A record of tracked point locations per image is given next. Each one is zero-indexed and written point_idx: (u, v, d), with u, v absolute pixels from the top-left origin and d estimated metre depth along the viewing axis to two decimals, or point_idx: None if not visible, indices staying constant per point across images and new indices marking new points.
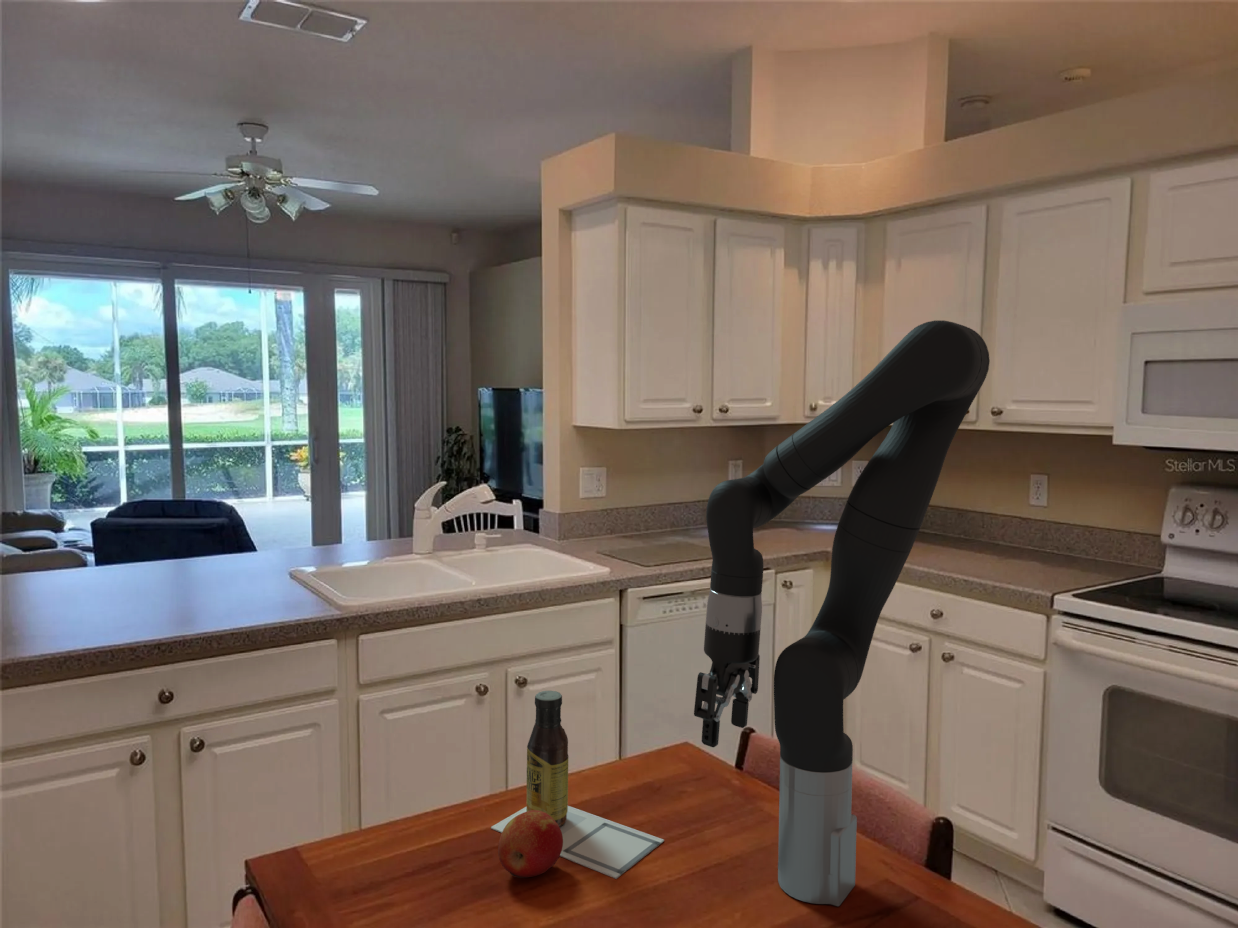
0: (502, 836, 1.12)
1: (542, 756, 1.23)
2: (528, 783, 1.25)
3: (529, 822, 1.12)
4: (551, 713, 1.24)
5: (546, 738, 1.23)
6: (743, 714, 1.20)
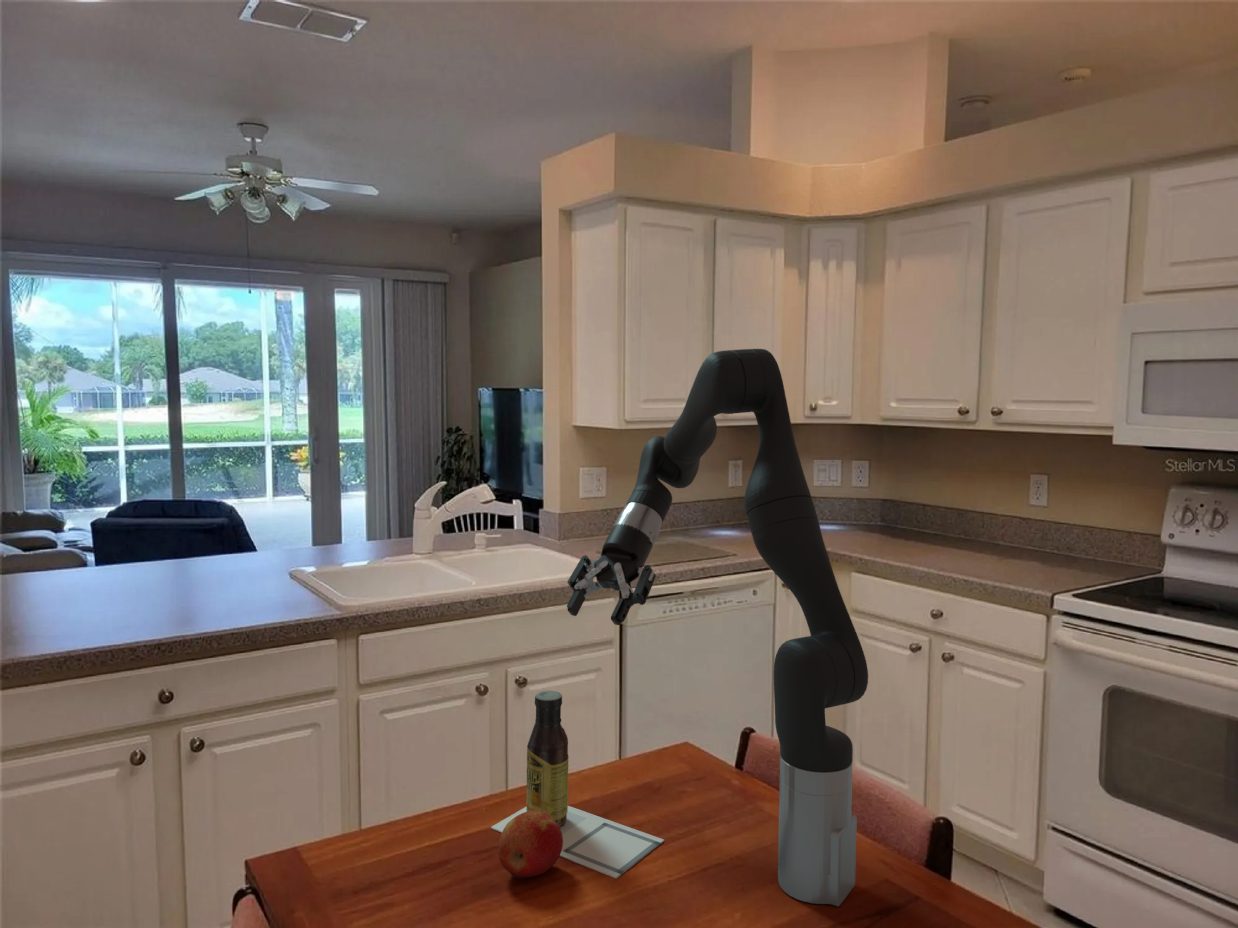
0: (502, 836, 1.12)
1: (542, 756, 1.23)
2: (528, 783, 1.25)
3: (529, 822, 1.12)
4: (551, 713, 1.24)
5: (546, 738, 1.23)
6: None
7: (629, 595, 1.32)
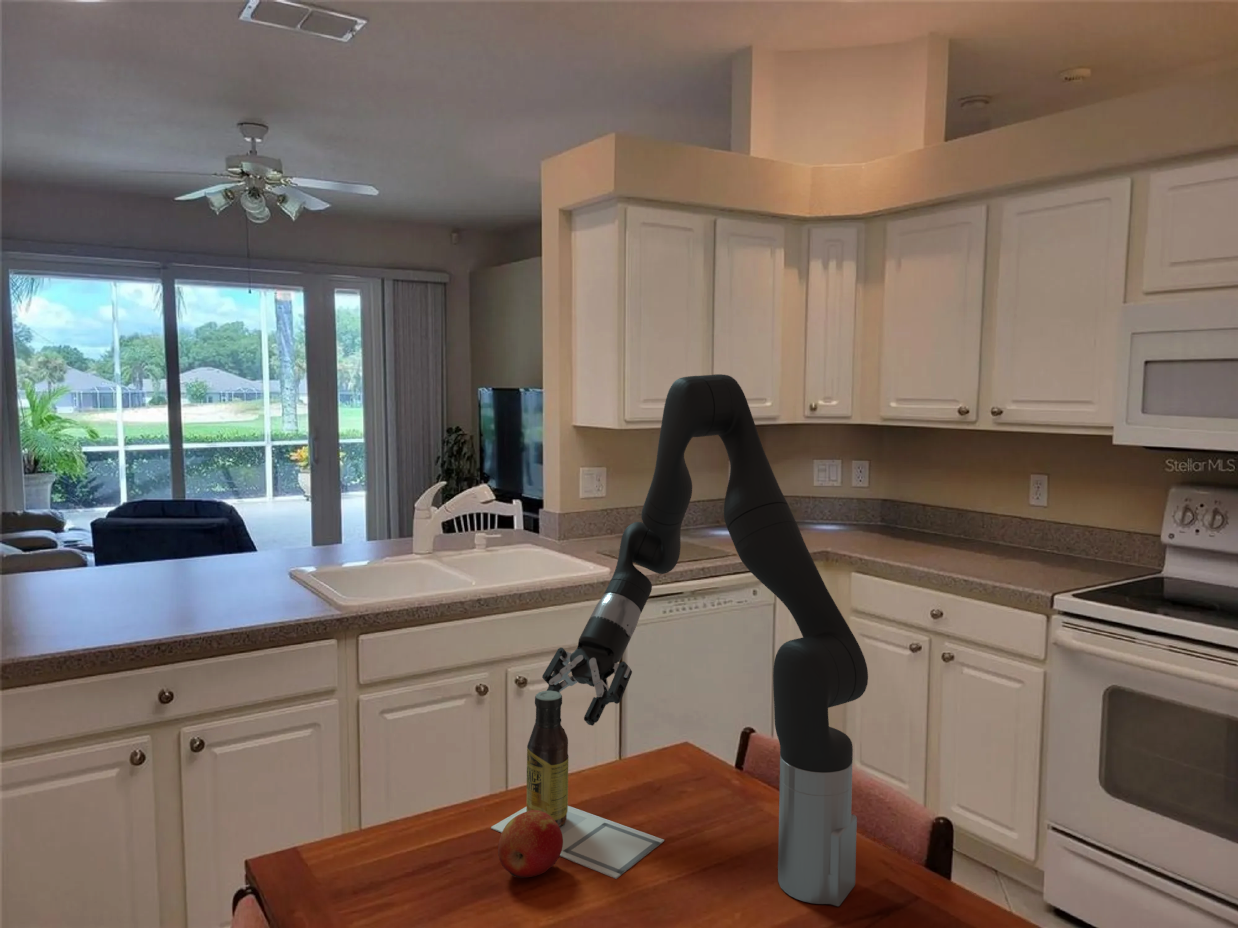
0: (502, 836, 1.12)
1: (542, 756, 1.23)
2: (528, 783, 1.25)
3: (529, 822, 1.12)
4: (551, 713, 1.24)
5: (546, 738, 1.23)
6: None
7: (603, 694, 1.28)
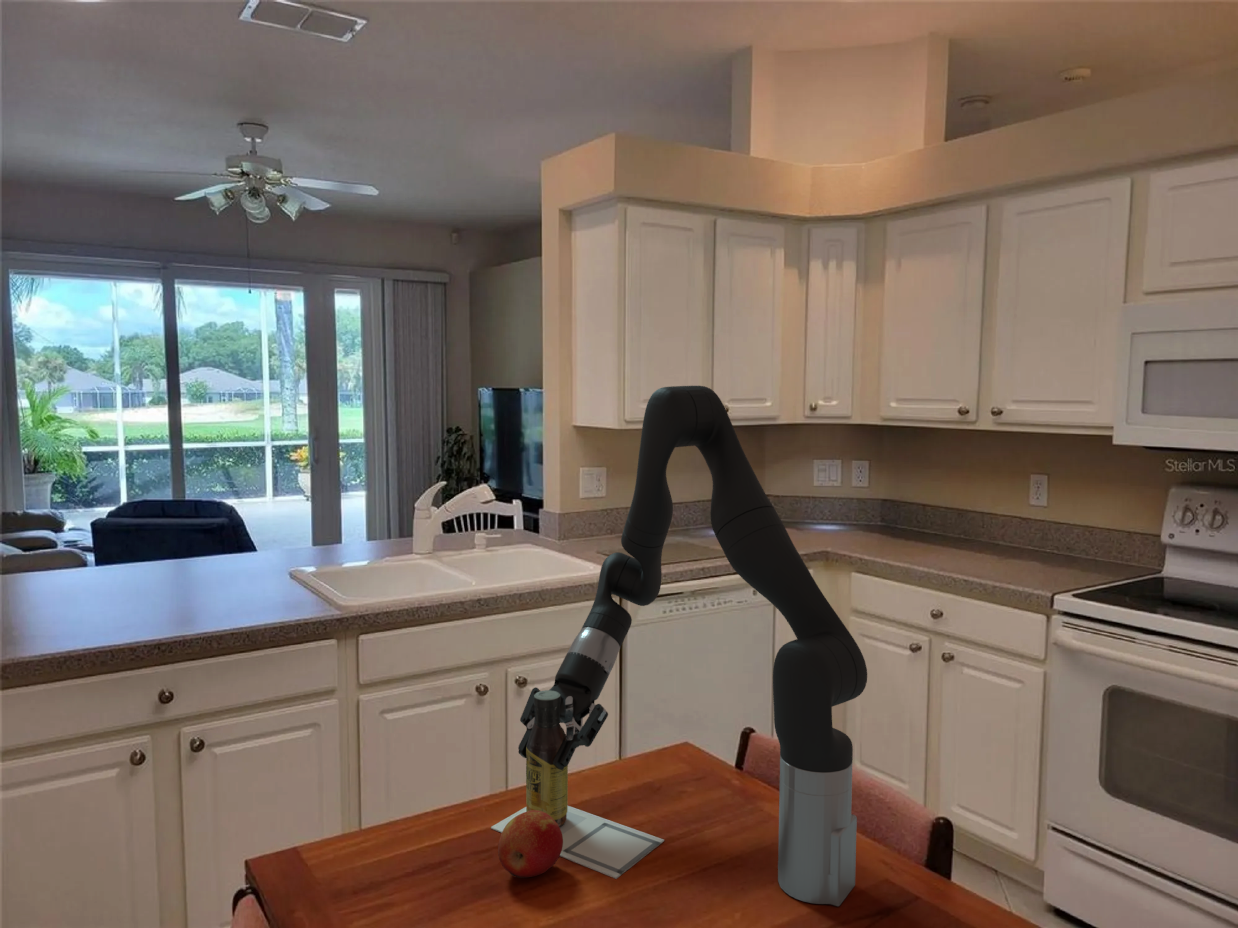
0: (502, 836, 1.12)
1: (541, 756, 1.23)
2: (528, 783, 1.25)
3: (529, 822, 1.12)
4: (550, 713, 1.24)
5: (545, 738, 1.23)
6: None
7: (573, 737, 1.24)
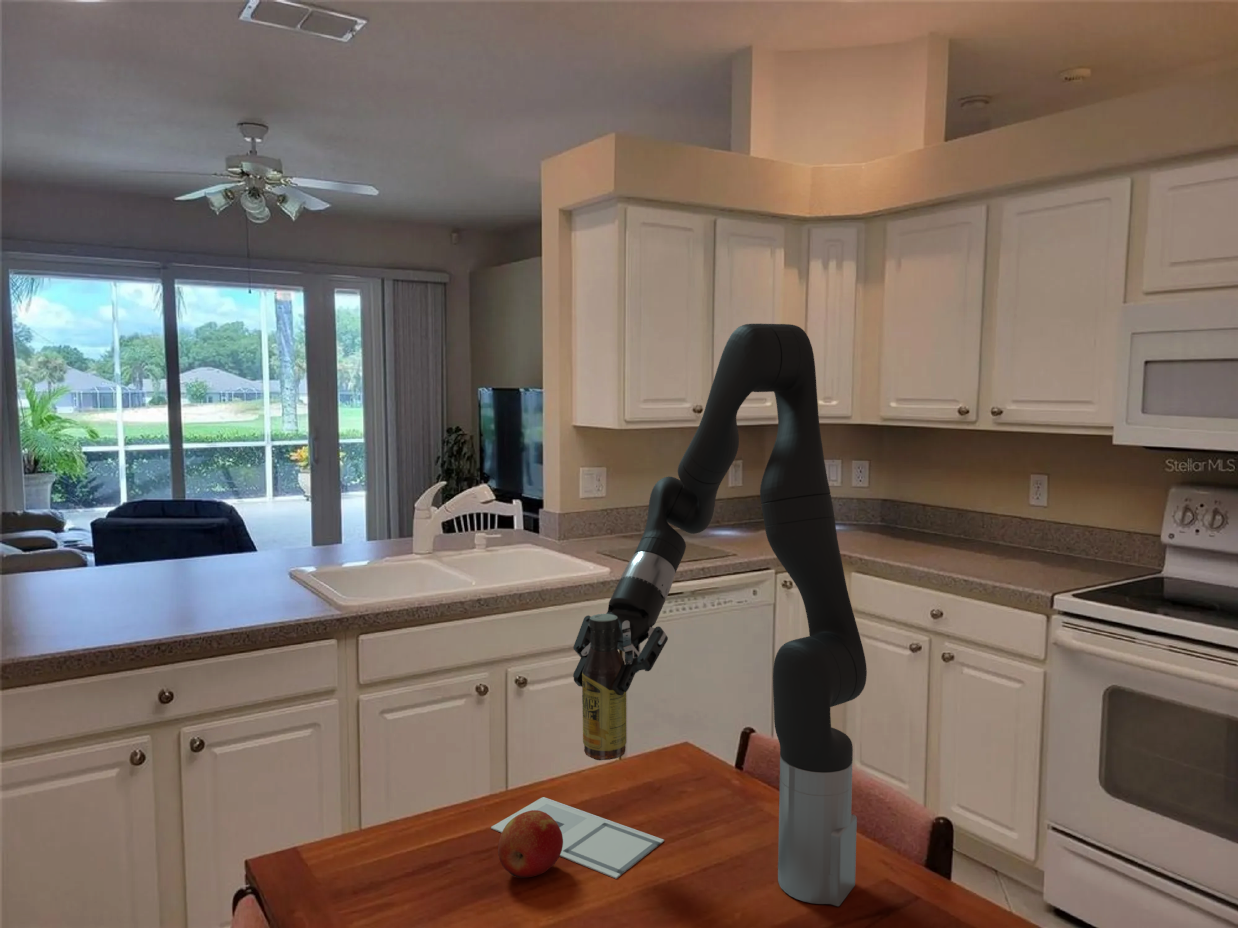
0: (502, 836, 1.12)
1: (600, 681, 1.16)
2: (585, 711, 1.18)
3: (529, 822, 1.12)
4: (608, 635, 1.17)
5: (603, 662, 1.16)
6: None
7: (633, 661, 1.17)
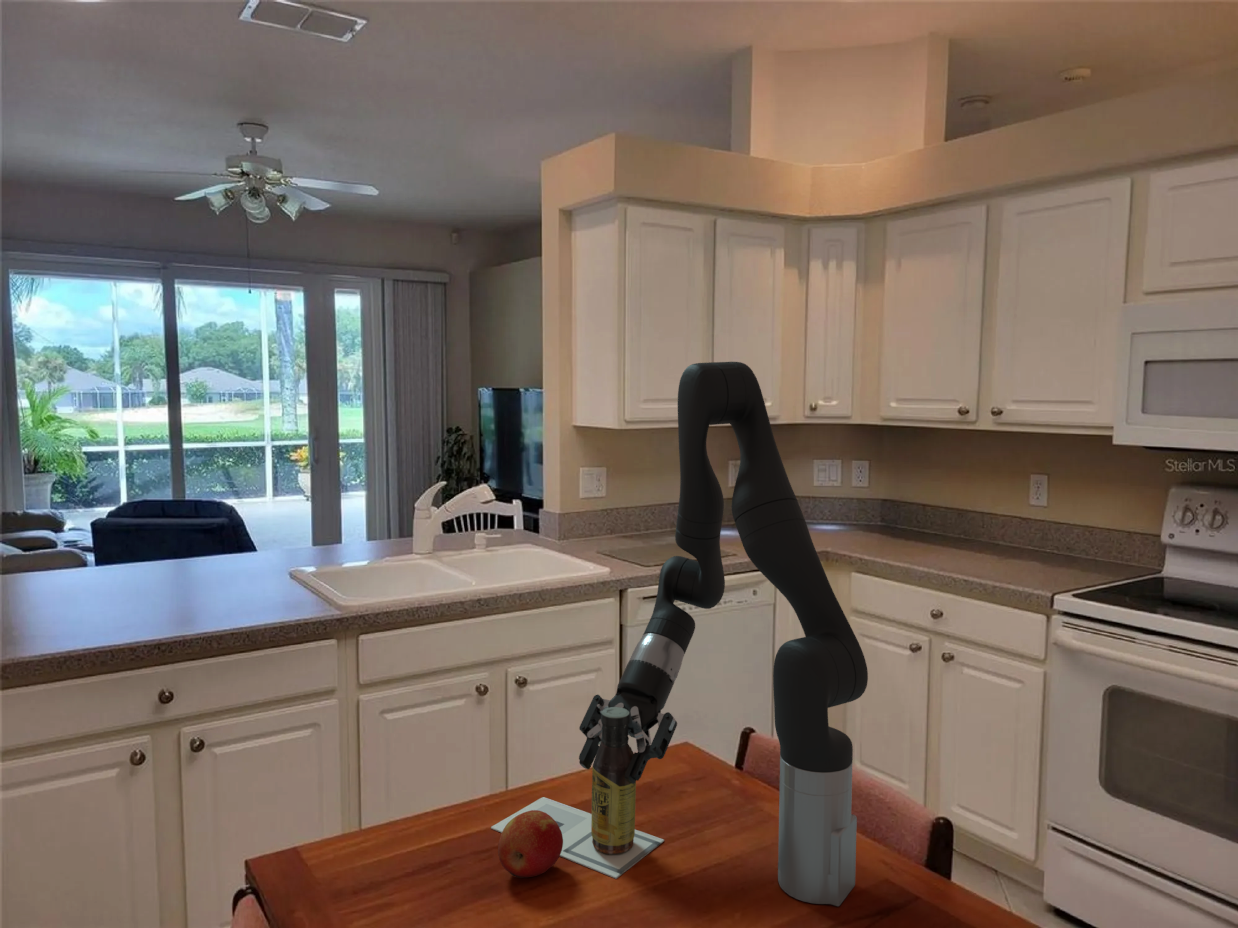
0: (502, 836, 1.12)
1: (610, 777, 1.16)
2: (594, 805, 1.18)
3: (529, 822, 1.12)
4: (619, 731, 1.17)
5: (613, 758, 1.17)
6: None
7: (645, 749, 1.17)
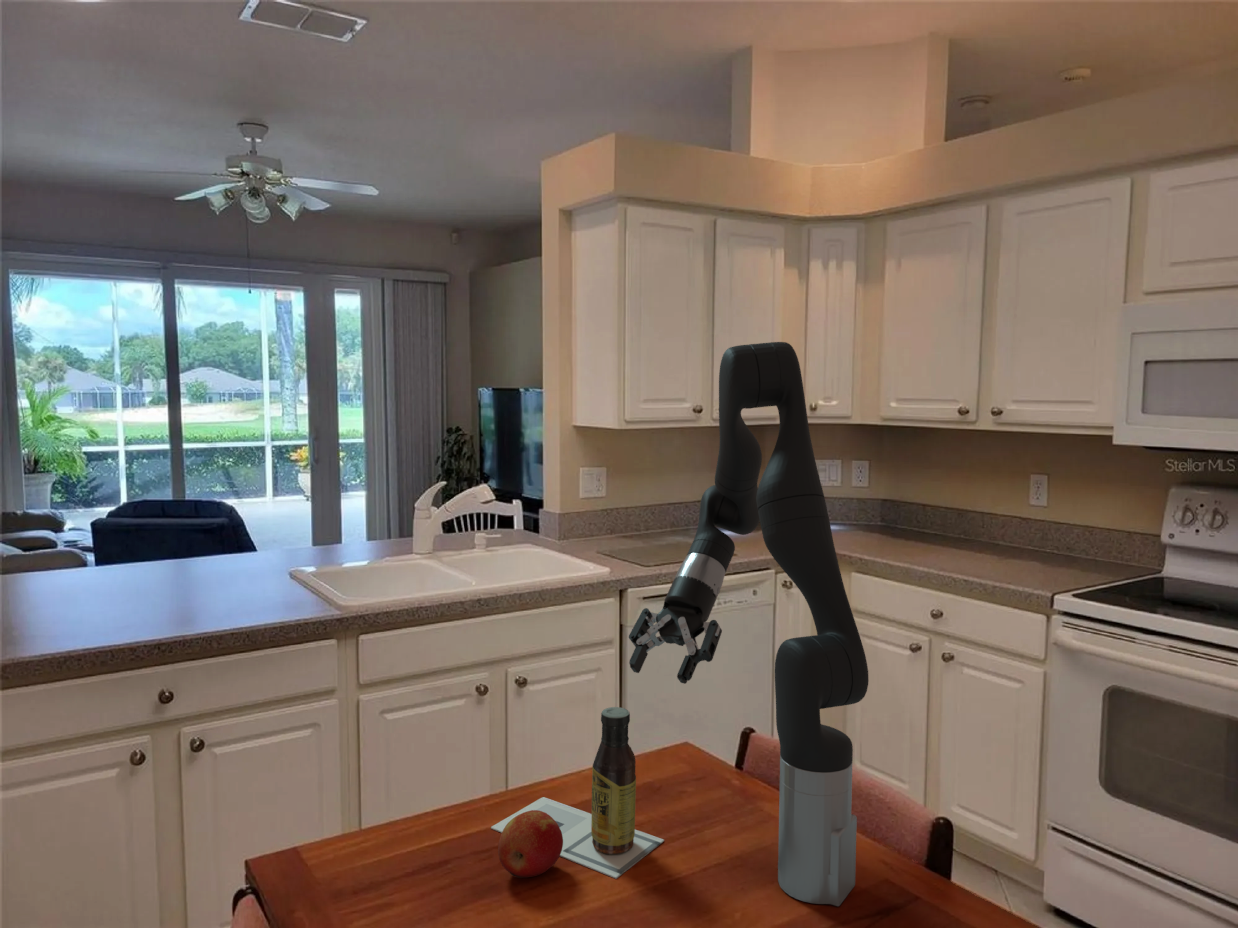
0: (502, 836, 1.12)
1: (610, 777, 1.16)
2: (594, 805, 1.18)
3: (529, 822, 1.12)
4: (619, 731, 1.17)
5: (613, 758, 1.17)
6: None
7: (695, 652, 1.27)
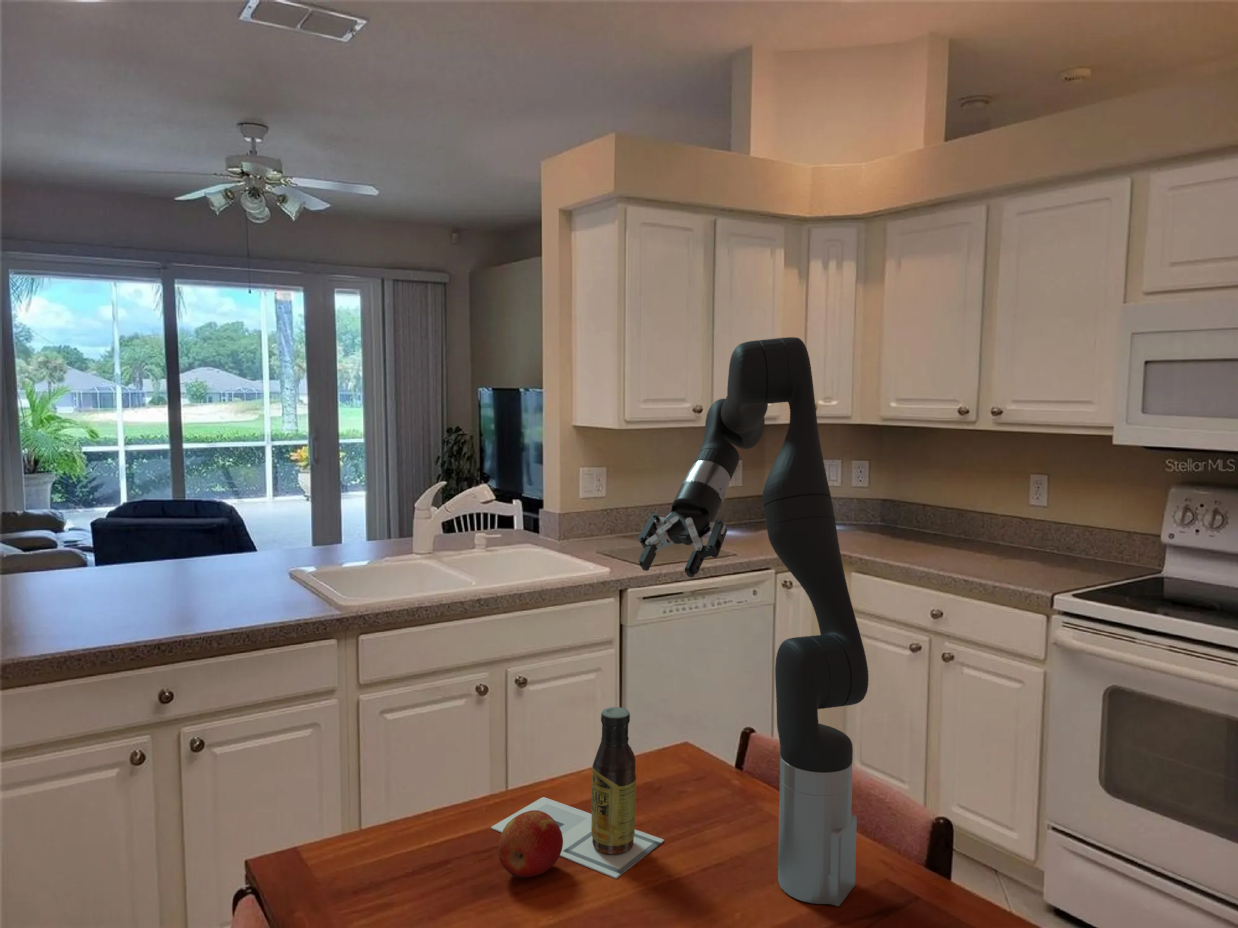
0: (502, 836, 1.12)
1: (610, 777, 1.16)
2: (594, 805, 1.18)
3: (529, 822, 1.12)
4: (619, 731, 1.17)
5: (613, 758, 1.17)
6: None
7: (702, 547, 1.33)
